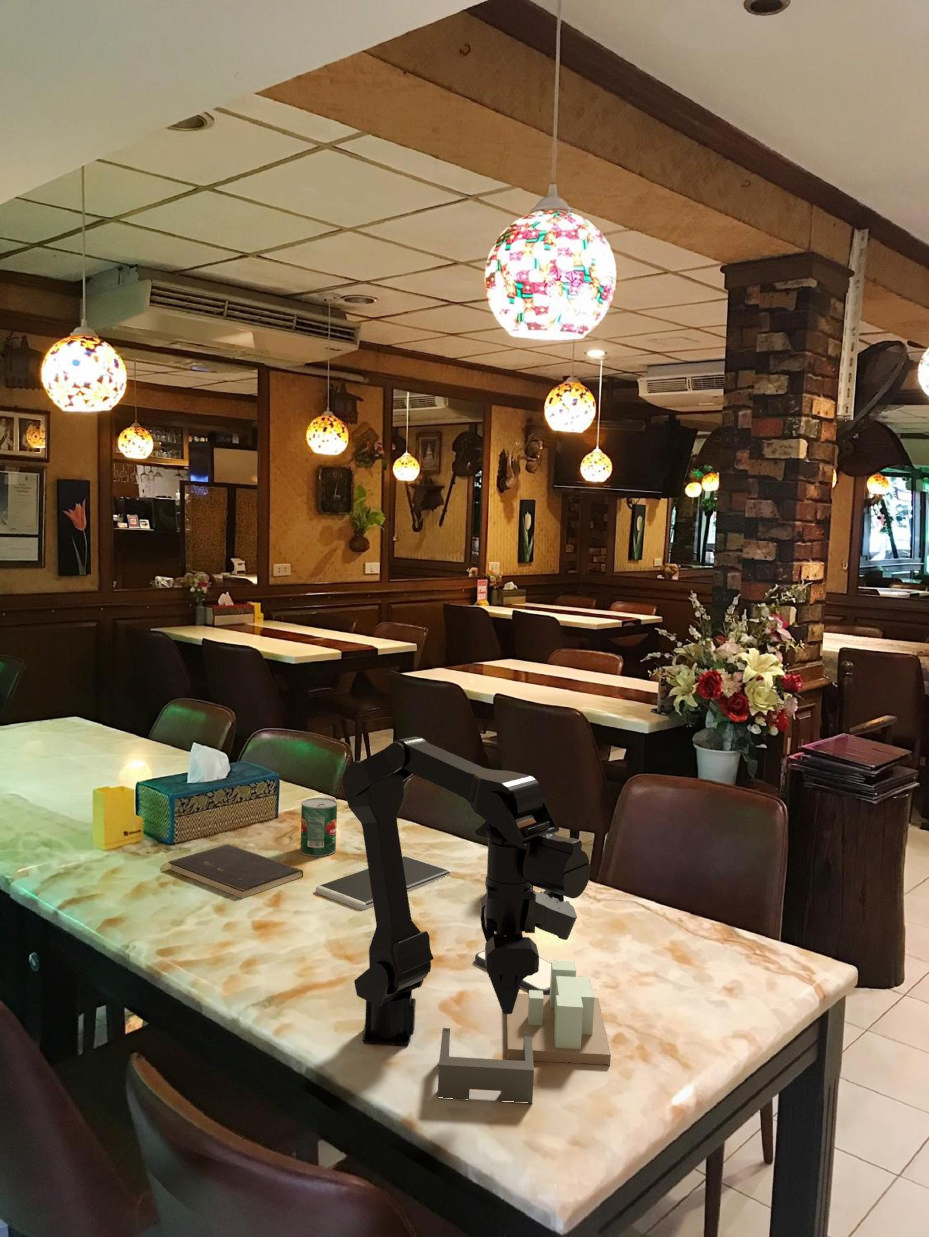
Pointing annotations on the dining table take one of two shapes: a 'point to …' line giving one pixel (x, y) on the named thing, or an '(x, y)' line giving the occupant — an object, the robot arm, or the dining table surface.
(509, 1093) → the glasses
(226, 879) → the hardcover book
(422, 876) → the smartphone
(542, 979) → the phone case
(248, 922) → the dining table surface
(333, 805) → the canned tomato
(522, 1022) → the green blocks on base
